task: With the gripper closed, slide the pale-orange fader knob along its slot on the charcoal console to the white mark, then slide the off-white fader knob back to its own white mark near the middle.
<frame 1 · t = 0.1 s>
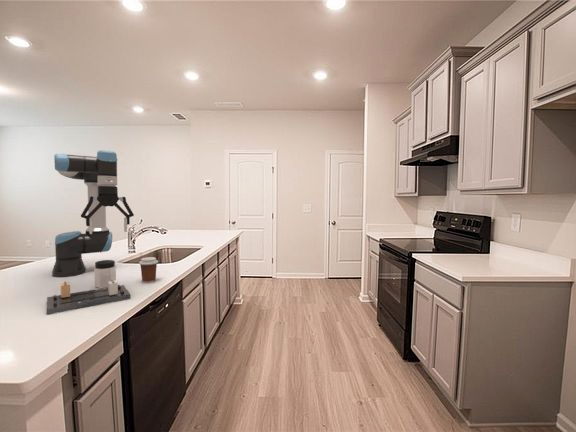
hand: (108, 232, 130), 28 cm above the countertop, fingers open, 13 cm apart
jar: (105, 285, 142), on the countertop
console: (89, 300, 122), on the countertop
fader a: (65, 289, 120), point 5 cm above the countertop, slide at -8.0 cm
coffee cup: (148, 281, 151), on the countertop
fader b: (112, 287, 124), point 5 cm above the countertop, slide at 8.0 cm
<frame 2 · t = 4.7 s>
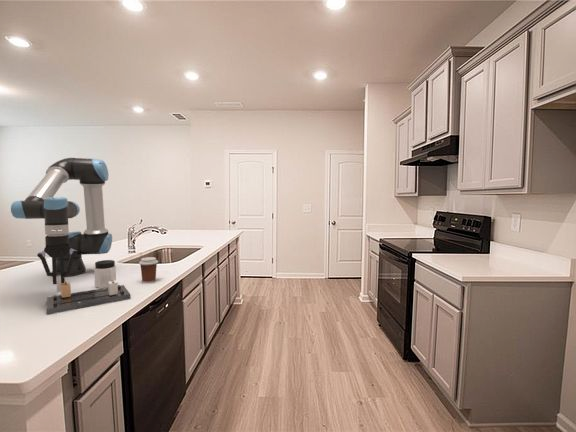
hand: (59, 291, 118), 5 cm above the countertop, fingers closed
fader a: (65, 289, 120), point 5 cm above the countertop, slide at -7.9 cm, touching gripper
everything else where it was.
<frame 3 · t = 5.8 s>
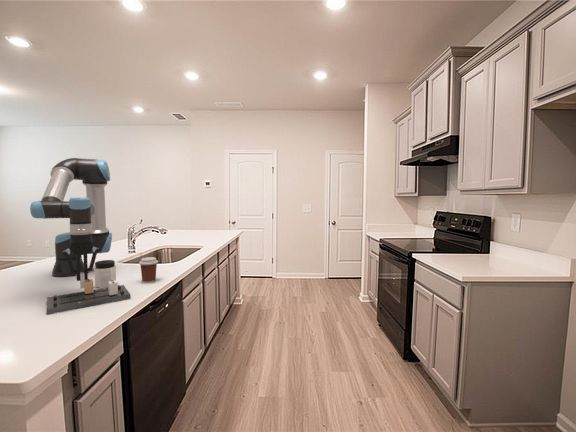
hand: (82, 287, 123), 5 cm above the countertop, fingers closed
fader a: (88, 285, 125), point 5 cm above the countertop, slide at 0.1 cm, touching gripper
everything else where it was.
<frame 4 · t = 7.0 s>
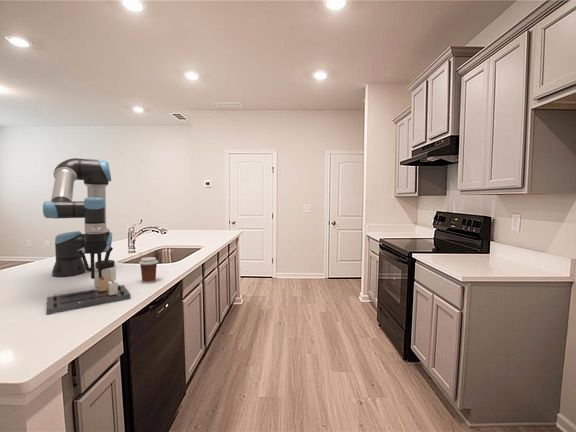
hand: (96, 285, 127), 5 cm above the countertop, fingers closed
fader a: (102, 283, 128), point 5 cm above the countertop, slide at 5.1 cm, touching gripper
everything else where it was.
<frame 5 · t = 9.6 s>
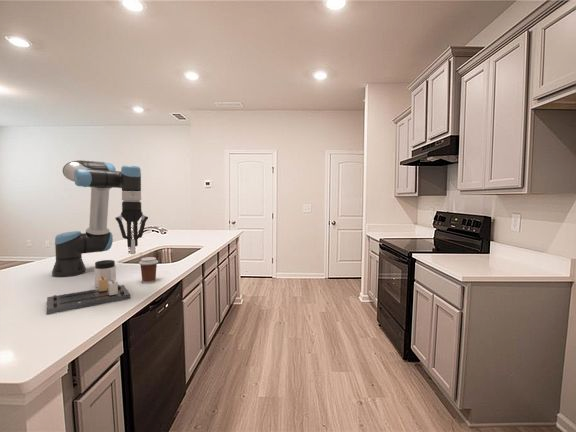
hand: (132, 253, 128), 19 cm above the countertop, fingers closed
fader a: (102, 283, 128), point 5 cm above the countertop, slide at 5.2 cm
everything else where it was.
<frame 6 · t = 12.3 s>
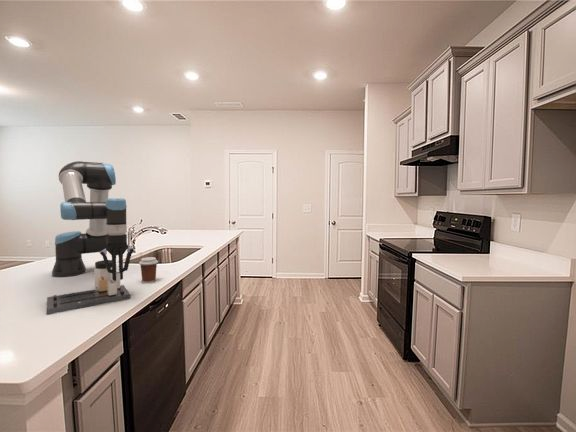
hand: (117, 287, 125), 5 cm above the countertop, fingers closed
fader b: (112, 287, 123), point 5 cm above the countertop, slide at 7.7 cm, touching gripper
everything else where it was.
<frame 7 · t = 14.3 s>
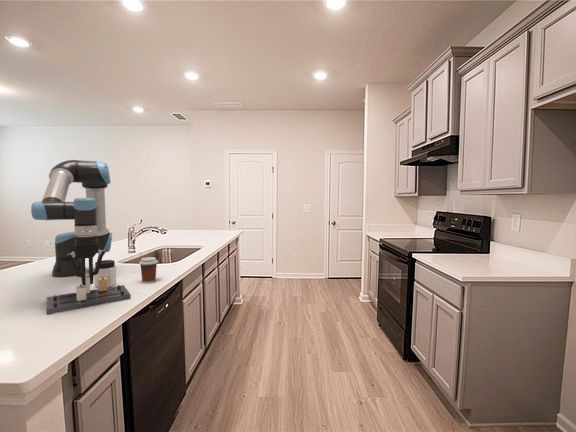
hand: (87, 292, 118), 5 cm above the countertop, fingers closed
fader b: (81, 292, 116), point 5 cm above the countertop, slide at -3.1 cm, touching gripper
everything else where it was.
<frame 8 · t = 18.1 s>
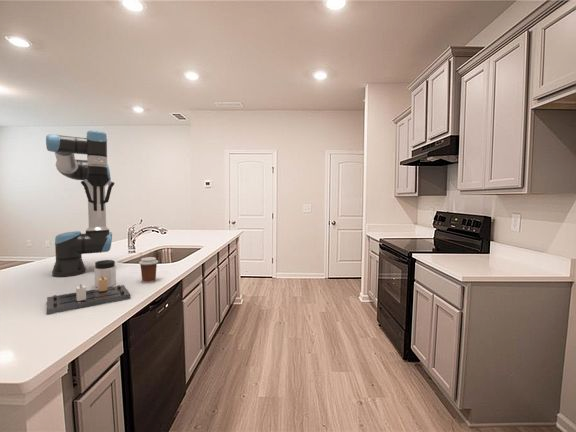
hand: (98, 218, 130), 34 cm above the countertop, fingers closed
fader b: (81, 292, 116), point 5 cm above the countertop, slide at -3.2 cm
everything else where it was.
at the end: fader a slide at 5.2 cm; fader b slide at -3.2 cm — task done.
